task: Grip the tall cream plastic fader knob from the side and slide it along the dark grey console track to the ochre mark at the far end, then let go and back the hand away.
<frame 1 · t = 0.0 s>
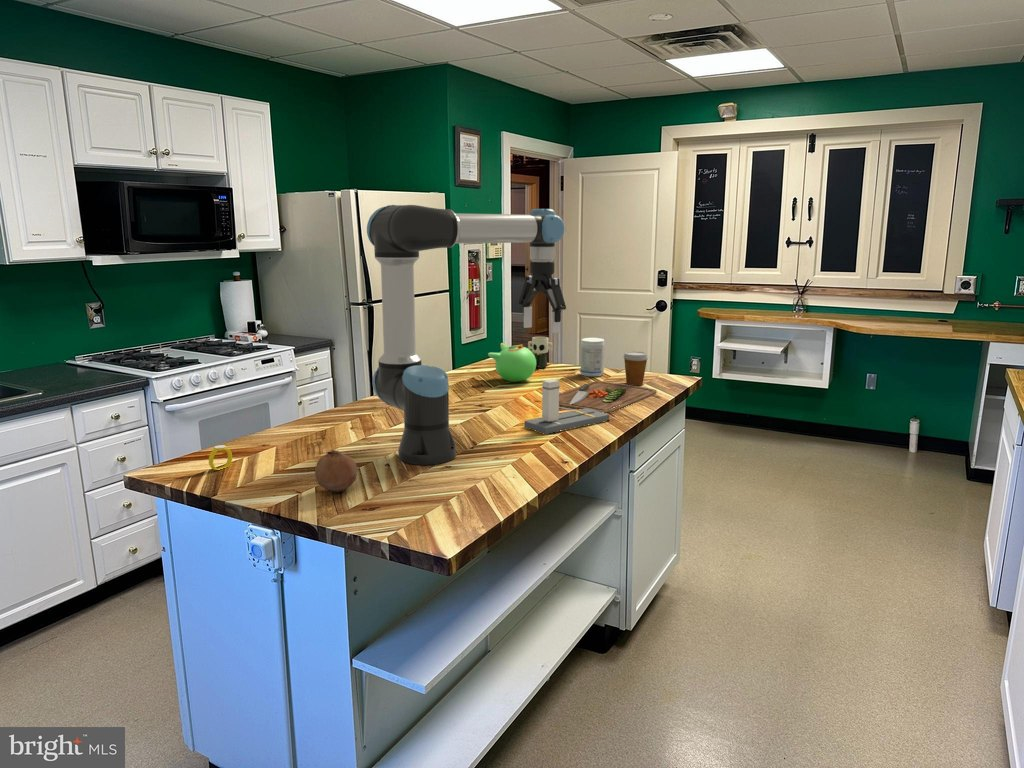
hand: (541, 330, 222), 28 cm above the countertop, tool pointing down, fingers open, 13 cm apart
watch: (221, 469, 178), on the countertop
fader knob: (550, 400, 214), point 9 cm above the countertop, slide at 0.0 cm
fader console: (567, 423, 220), on the countertop
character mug: (539, 368, 307), on the countertop
chopping board: (601, 399, 254), on the countertop
onion: (337, 492, 163), on the countertop
disposable coffee cup: (634, 384, 277), on the countertop
supplement tub: (591, 375, 293), on the countertop
green rounded body: (514, 381, 280), on the countertop
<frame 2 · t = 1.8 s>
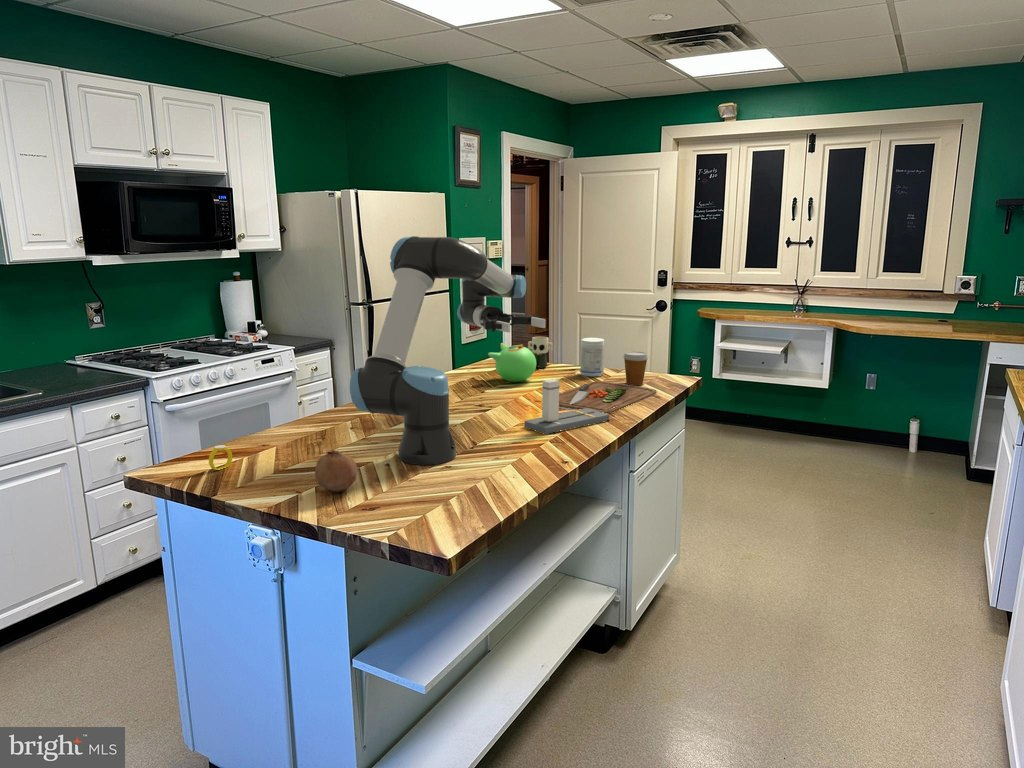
hand: (527, 325, 220), 30 cm above the countertop, tool horizontal, fingers open, 13 cm apart
nothing on the countertop moved.
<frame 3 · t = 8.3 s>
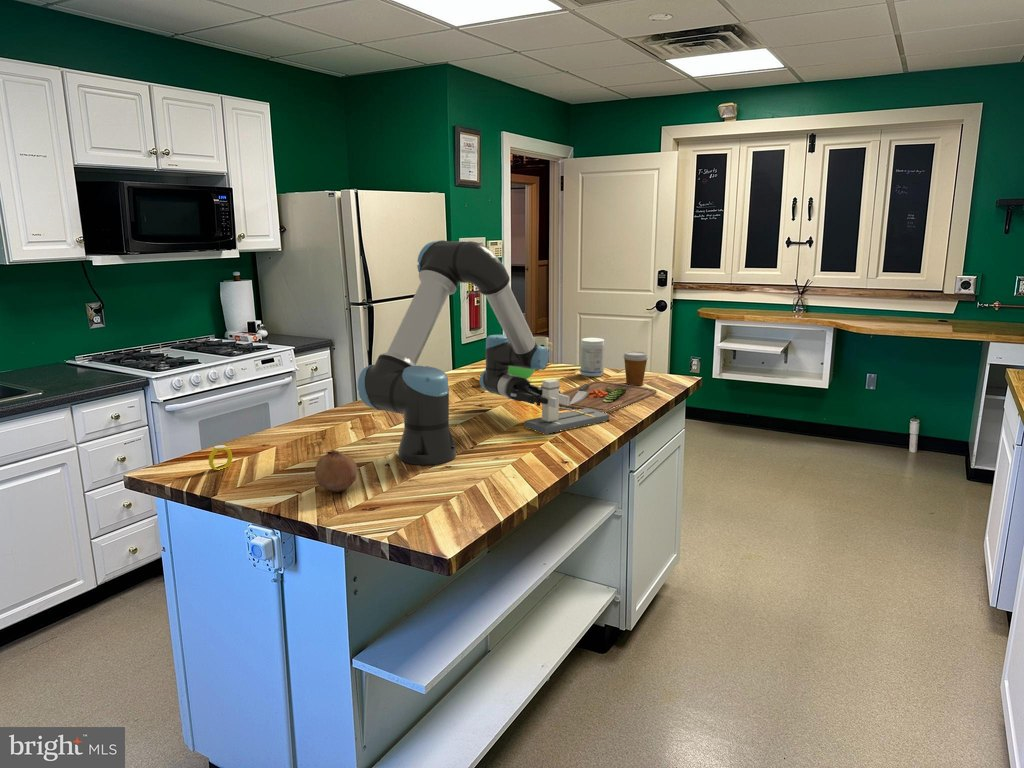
hand: (562, 402, 210), 9 cm above the countertop, tool horizontal, fingers closed on fader knob, 4 cm apart
fader knob: (550, 400, 214), point 9 cm above the countertop, slide at 0.0 cm, touching gripper
everything else where it was.
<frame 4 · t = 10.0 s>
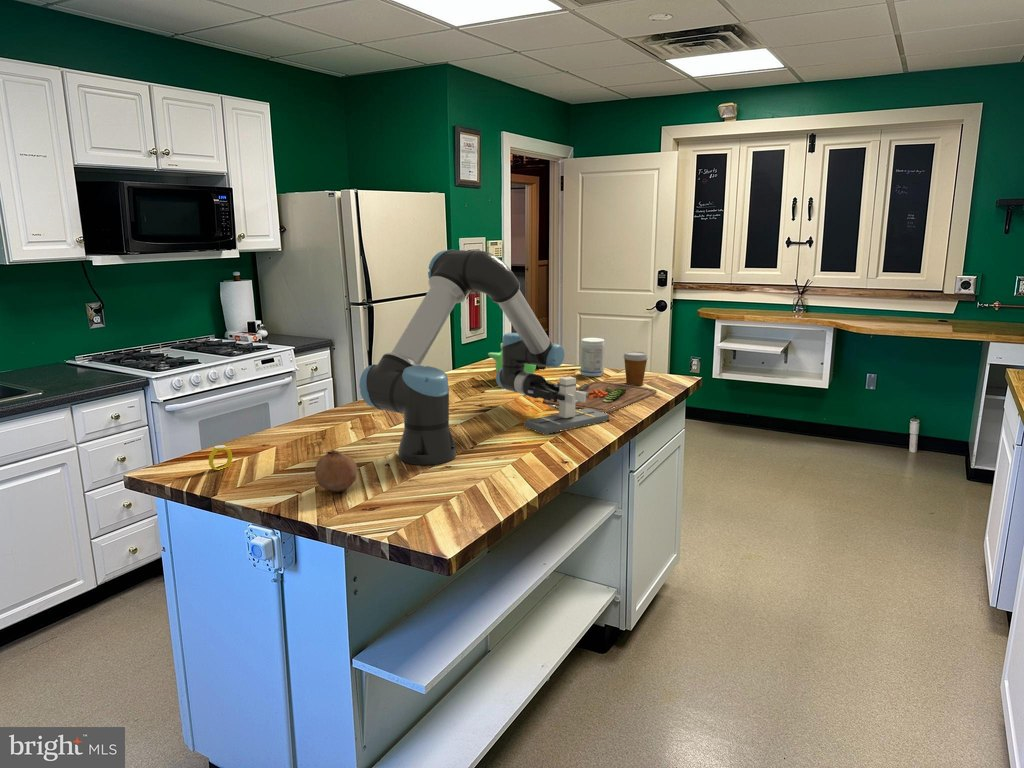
hand: (579, 398, 214), 9 cm above the countertop, tool horizontal, fingers closed on fader knob, 4 cm apart
fader knob: (567, 397, 218), point 9 cm above the countertop, slide at 6.7 cm, touching gripper
everything else where it was.
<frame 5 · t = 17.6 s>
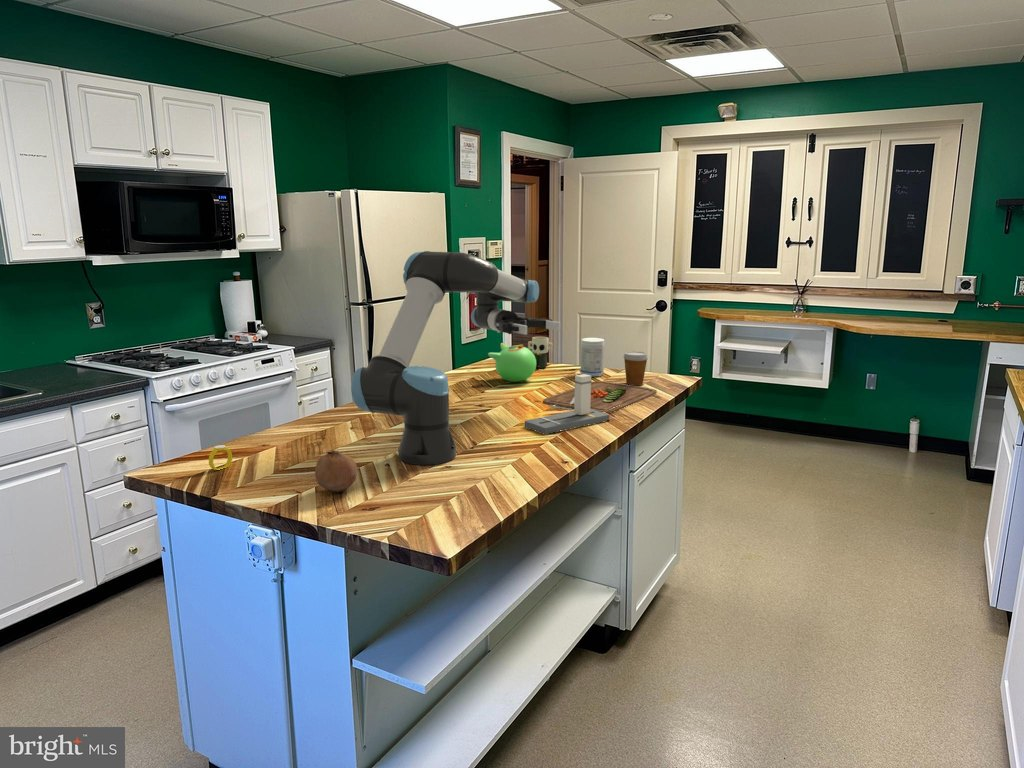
hand: (543, 328, 225), 28 cm above the countertop, tool horizontal, fingers open, 13 cm apart
fader knob: (582, 394, 222), point 9 cm above the countertop, slide at 13.0 cm
everything else where it was.
at the end: fader knob slide at 13.0 cm; the gripper is holding nothing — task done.
